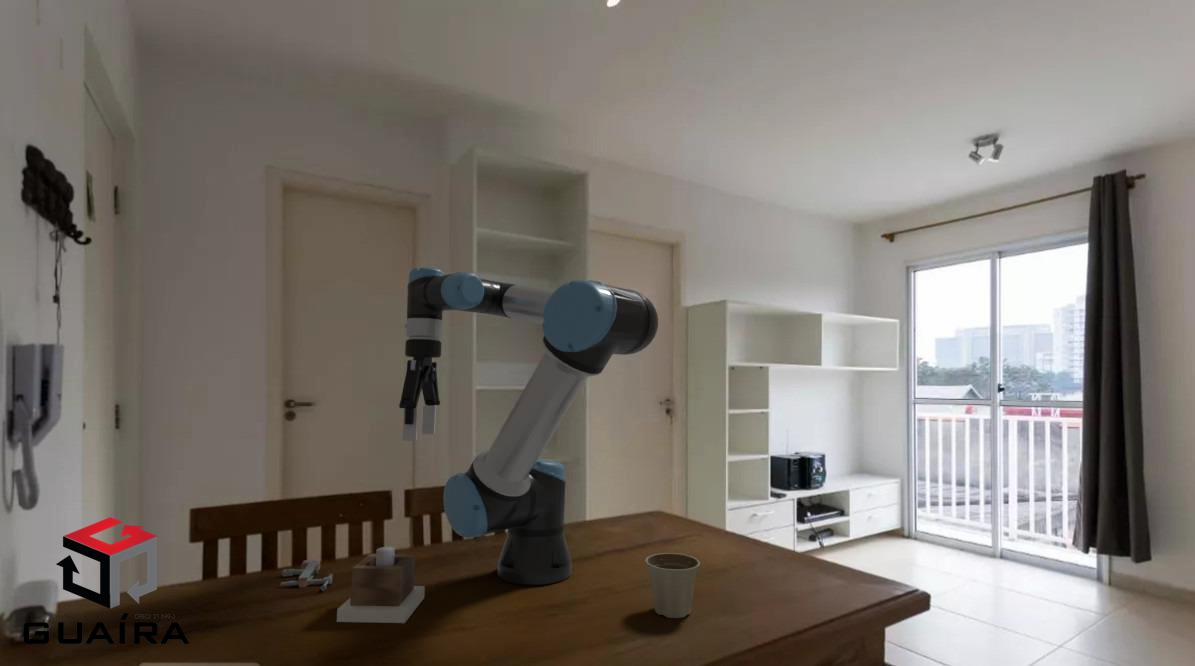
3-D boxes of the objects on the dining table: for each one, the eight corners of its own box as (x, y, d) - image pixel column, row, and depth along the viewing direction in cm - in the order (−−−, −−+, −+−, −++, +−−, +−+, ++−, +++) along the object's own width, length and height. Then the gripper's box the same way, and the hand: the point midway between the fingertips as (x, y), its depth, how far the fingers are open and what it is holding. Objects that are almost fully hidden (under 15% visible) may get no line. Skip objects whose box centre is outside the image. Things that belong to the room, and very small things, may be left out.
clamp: (288, 560, 120) (341, 557, 122) (287, 571, 119) (340, 568, 122) (267, 586, 105) (327, 582, 108) (266, 599, 105) (327, 594, 107)
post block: (424, 597, 106) (426, 541, 106) (404, 623, 95) (407, 559, 95) (363, 596, 106) (366, 539, 106) (336, 621, 95) (339, 558, 95)
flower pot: (664, 627, 95) (665, 572, 96) (634, 606, 103) (635, 556, 104) (711, 617, 99) (711, 565, 100) (678, 598, 108) (678, 550, 108)
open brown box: (413, 589, 104) (415, 554, 105) (398, 606, 96) (400, 569, 97) (368, 588, 104) (370, 553, 105) (350, 605, 96) (352, 568, 97)
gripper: (423, 342, 140) (419, 431, 138) (386, 334, 115) (381, 443, 114) (454, 343, 140) (451, 432, 139) (424, 335, 115) (419, 444, 114)
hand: (419, 437), depth 126 cm, fingers open, 13 cm apart
